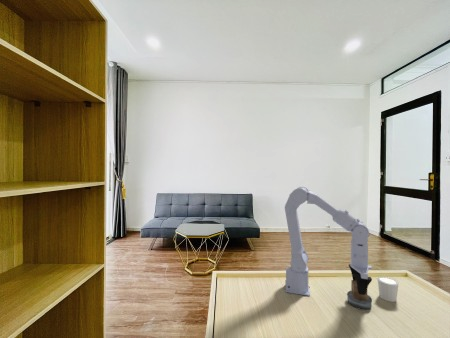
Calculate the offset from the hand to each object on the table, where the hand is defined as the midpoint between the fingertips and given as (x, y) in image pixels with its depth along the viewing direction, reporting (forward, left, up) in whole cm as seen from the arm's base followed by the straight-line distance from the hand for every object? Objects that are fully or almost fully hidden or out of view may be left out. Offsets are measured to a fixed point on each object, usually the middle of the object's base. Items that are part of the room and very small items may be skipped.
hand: (359, 288), depth 87 cm
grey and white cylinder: (+12, +8, -6) cm, 16 cm away
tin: (0, 0, -6) cm, 6 cm away
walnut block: (0, 0, -3) cm, 3 cm away
